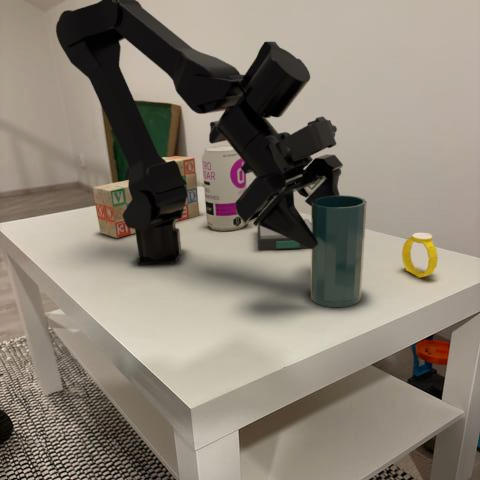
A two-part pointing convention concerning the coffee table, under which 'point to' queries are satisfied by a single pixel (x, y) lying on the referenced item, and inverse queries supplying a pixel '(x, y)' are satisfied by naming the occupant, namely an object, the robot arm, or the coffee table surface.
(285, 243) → the scale
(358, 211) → the ceramic cup
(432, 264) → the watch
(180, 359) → the coffee table surface
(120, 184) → the stack of blocks
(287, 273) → the coffee table surface
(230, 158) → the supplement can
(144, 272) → the coffee table surface
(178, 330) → the coffee table surface
